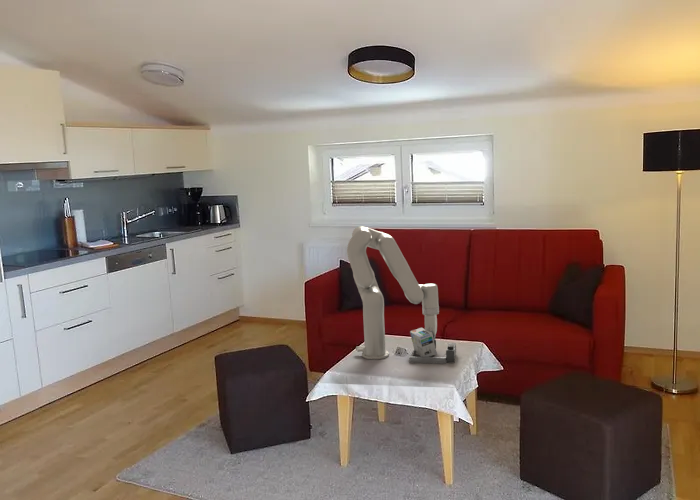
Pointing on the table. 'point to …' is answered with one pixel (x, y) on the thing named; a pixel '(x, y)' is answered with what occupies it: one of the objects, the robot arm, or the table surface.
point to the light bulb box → (423, 342)
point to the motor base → (448, 357)
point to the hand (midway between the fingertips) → (432, 348)
